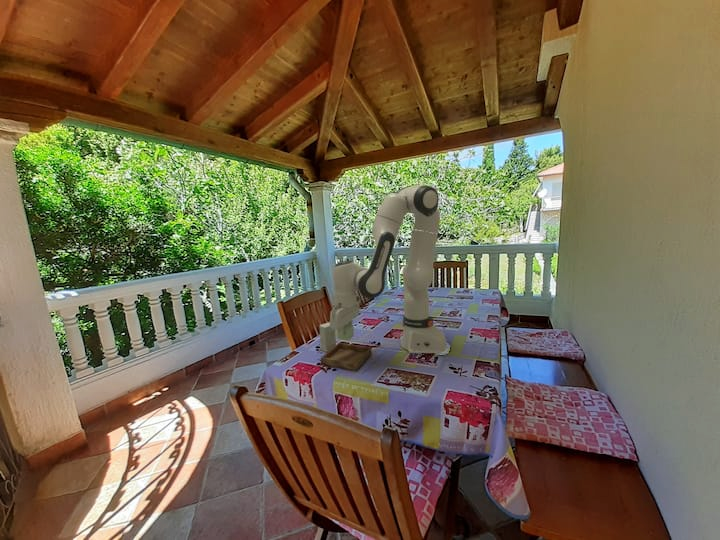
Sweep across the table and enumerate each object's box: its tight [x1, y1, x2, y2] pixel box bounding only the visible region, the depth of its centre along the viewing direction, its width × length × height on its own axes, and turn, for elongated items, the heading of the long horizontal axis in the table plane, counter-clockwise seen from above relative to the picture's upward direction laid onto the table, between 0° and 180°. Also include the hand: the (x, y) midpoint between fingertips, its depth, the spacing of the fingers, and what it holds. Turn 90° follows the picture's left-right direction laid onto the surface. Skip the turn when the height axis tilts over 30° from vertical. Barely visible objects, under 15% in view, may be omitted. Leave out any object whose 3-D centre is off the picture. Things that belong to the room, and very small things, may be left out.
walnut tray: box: [320, 342, 373, 373], centre depth 122 cm, size 16×16×3 cm
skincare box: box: [318, 321, 337, 353], centre depth 131 cm, size 6×4×12 cm
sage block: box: [336, 324, 355, 342], centre depth 120 cm, size 5×5×5 cm
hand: (345, 332), depth 120 cm, fingers closed on sage block, 5 cm apart
